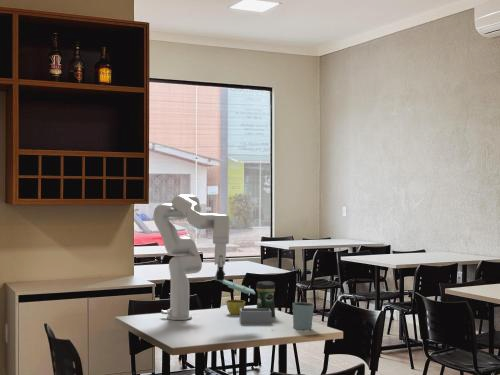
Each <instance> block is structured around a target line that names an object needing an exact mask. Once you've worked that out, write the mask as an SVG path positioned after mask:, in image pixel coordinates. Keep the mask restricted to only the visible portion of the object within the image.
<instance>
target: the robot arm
mask: <svg viewBox="0 0 500 375" xmlns="http://www.w3.org/2000/svg"><path fill="white" fill-rule="evenodd" d="M200 204H201V203H200V200H199V198H198V196H196V195H195V194H194V195H193V194H178V195H176V196H173V198H172V200H171V203H160V204H158V205H157V206H155V208H154V211H153V220H154V224H155V226H156V228H157V230H158V232H159V233H160V236H161V239H162V242H163V245H164V248H165V251H166V253H167V254H168V255H169V256H172V258H171V259H169V262H168V269H169V275H170V296H169V297H170V298H169V299H170V301H169V302H170V306H169V308H168V309H166V310H163V309H161V315H167V316H166V318H167V320H170V321H171V320H173V321H186V320H190V319H192V318H193V315H191V314H190V280H189V278H188V277H187V275H189V274H191V275H192V274H197V273H198V274H199V273H200V271H202V268H203V262H202V258H201V256H200V252H199V250H198V247H197V244H196V243H195V241H194V240H193V238H192V237H189V236H180V235H179V233H178V230H177V228H176V227H175V224H173V223H172V222H171V221H174V220H175V221H176V220H177V221H179V220H180V221H182V220H184V219H187V220H186V221H187V222H188V223H189V225H190V226H192V227H194V228H195V229H198V230H212V244H213V245H214V265H217V270H218V271H217V270H216V272H217V280H225V279H224V278H225V276H224V273H225V271H224V266H225V265H226V259H227V258H226V257H227V245H229V243H230V216H229V215H227V214H221V213H201V211H202V208H201V205H200ZM217 280H216V281H217Z"/></svg>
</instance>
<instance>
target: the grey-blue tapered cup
mask: <svg viewBox="0 0 500 375" xmlns="http://www.w3.org/2000/svg"><path fill="white" fill-rule="evenodd" d="M314 310H315V304H314V303H311V302H305V301H303V302H301V301H300V302H298V301H297V302H292V320H293V322H292V323H293V327H292V329H295V330H302V331H303V332H304V331H305V330H309V331H311V330H312V329H313V328H312V327H313V326H312V325H313V317H314ZM302 331H301V332H302ZM305 332H306V331H305Z"/></svg>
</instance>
